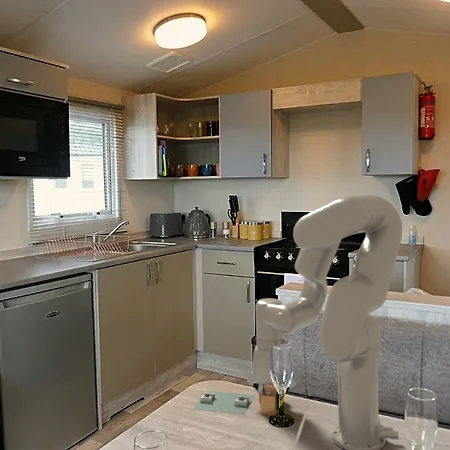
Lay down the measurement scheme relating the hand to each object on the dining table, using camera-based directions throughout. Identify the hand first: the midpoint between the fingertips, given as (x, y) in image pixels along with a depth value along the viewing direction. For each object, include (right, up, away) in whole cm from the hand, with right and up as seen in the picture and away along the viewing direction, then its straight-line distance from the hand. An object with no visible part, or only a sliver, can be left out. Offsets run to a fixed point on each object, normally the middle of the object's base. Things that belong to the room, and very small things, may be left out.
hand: (271, 406), depth 140 cm
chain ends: (-13, 0, +4) cm, 14 cm away
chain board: (-13, -1, +4) cm, 14 cm away
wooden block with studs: (0, -1, 0) cm, 1 cm away
